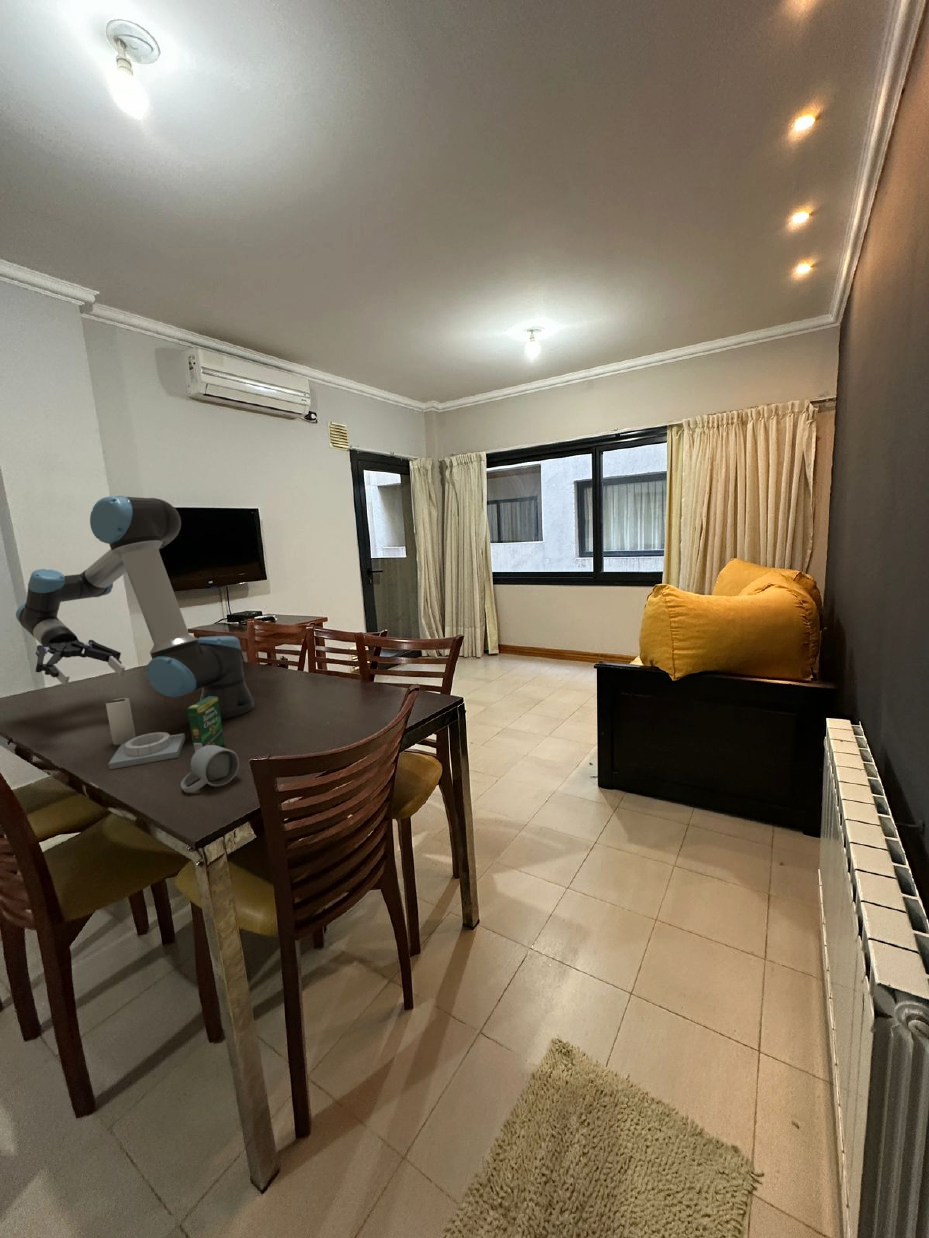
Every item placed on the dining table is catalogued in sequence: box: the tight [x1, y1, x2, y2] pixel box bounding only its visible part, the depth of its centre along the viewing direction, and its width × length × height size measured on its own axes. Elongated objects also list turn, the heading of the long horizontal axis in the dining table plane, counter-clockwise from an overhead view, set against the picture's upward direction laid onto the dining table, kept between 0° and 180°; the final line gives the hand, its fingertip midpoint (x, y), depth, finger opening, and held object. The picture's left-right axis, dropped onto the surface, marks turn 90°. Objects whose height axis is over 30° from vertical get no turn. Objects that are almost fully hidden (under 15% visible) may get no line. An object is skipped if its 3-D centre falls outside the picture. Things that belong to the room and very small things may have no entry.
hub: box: [108, 731, 186, 770], centre depth 122 cm, size 14×12×4 cm
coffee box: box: [187, 696, 225, 754], centre depth 120 cm, size 8×3×13 cm, turn 171°
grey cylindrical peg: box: [105, 697, 136, 746], centre depth 129 cm, size 5×5×11 cm
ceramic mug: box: [180, 745, 240, 794], centre depth 106 cm, size 11×8×8 cm
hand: (96, 676), depth 133 cm, fingers open, 13 cm apart
